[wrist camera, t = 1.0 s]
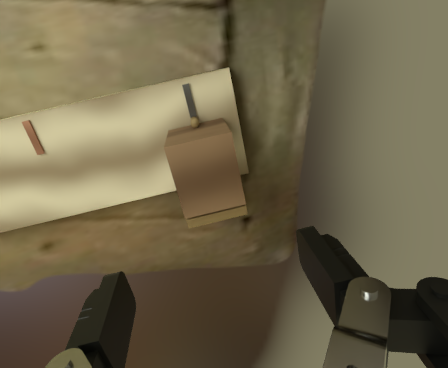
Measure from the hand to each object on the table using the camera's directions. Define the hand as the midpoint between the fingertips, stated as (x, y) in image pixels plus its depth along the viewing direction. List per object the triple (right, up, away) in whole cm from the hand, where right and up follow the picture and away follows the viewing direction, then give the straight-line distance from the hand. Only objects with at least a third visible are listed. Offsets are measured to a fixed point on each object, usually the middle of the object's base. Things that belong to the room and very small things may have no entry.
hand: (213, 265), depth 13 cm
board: (-12, +7, +16) cm, 21 cm away
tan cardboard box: (-2, +7, +16) cm, 17 cm away
